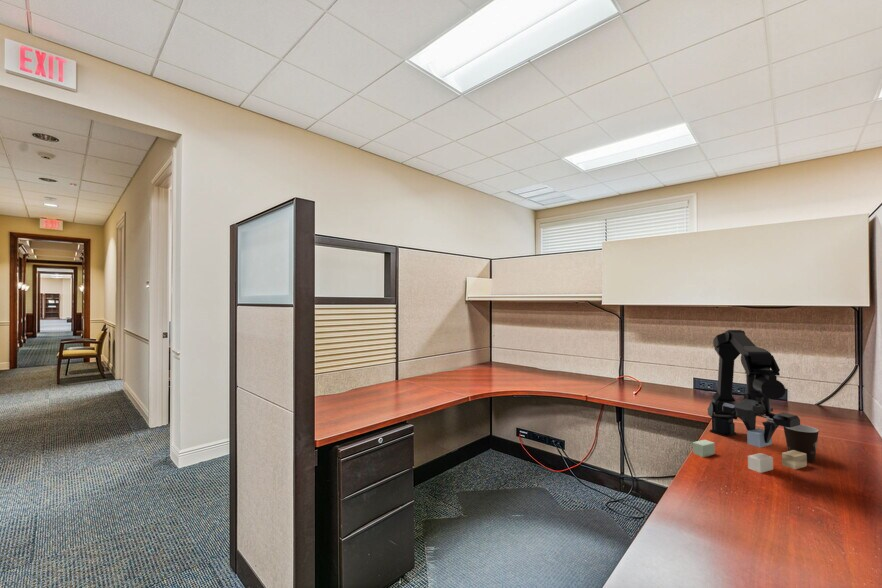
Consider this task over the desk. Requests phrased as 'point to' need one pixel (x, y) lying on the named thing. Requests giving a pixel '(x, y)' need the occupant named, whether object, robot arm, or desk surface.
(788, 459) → the maple block
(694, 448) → the sage block
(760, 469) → the cream block
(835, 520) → the desk surface
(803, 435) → the coffee mug
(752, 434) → the blue block
